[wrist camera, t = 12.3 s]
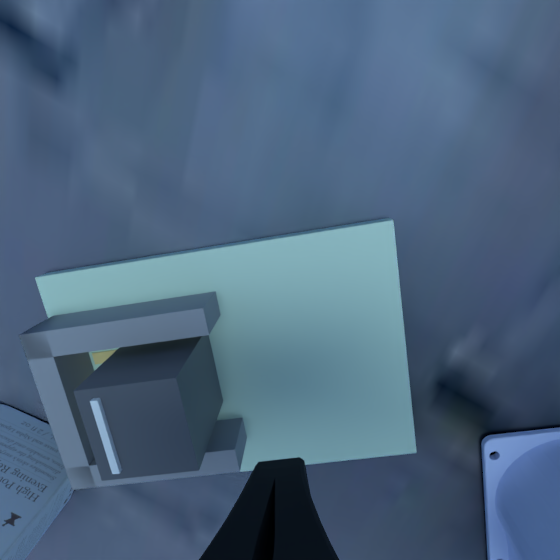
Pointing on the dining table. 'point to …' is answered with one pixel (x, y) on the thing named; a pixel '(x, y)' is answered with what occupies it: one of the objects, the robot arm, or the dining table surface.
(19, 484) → the skincare box
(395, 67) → the dining table surface
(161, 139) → the dining table surface
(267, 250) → the board
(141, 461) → the plug
